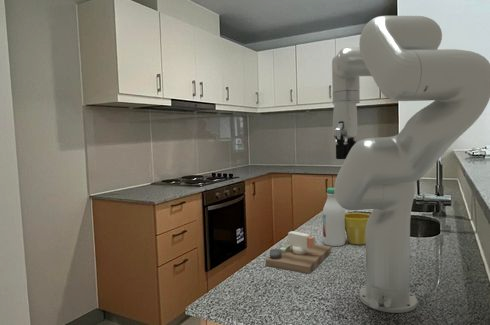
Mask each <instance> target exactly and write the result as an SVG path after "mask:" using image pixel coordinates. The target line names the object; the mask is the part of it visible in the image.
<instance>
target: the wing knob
mask: <svg viewBox="0 0 490 325" xmlns="http://www.w3.org/2000/svg"><path fill="white" fill-rule="evenodd" d="M315 241H316V240H315V237H314V236H312V235H311V234H309V233H306V232H305V233H304V232H299V231H294V230H291V231H289V232H287V244H288V245H291V246H293V253H294V254H299V255H301V254H306V253H307V249H308V248H313V247H315V245H316V244H315Z"/></svg>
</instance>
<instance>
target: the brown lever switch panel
mask: <svg viewBox="0 0 490 325" xmlns="http://www.w3.org/2000/svg"><path fill="white" fill-rule="evenodd" d="M331 253H332V246H329V245H320V244H315V247H313V248H308V249H307V253H306V254H301V255H299V254H294V253H293V246H291V245H288V243H287V244H284V245H283V246H281V247H280V248H273V249H271V250H269V256H268V257H267V258H265V266H266V267H270V268H274V269H275V268H276V269H282V270H286V271H291V272H298V273H304V274H311V272H313V271H314V270H315V269H316V268H317V267H318V266H319V265H320V264H321V263H322V262H324V260H325V259H327V257H328V256H329V255H331Z"/></svg>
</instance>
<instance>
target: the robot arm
mask: <svg viewBox="0 0 490 325" xmlns="http://www.w3.org/2000/svg"><path fill="white" fill-rule="evenodd" d="M442 39H443V32H442V28H441V27H440V25H439V24H438V23H437V22H436V20H434V19H433V18H431V17H428V16H423V15H422V16H421V15H379V16H376V17H374V18H372V19H370V20H369V21H368V22H367V23H366V25H364V27H363V29H362V30H361V34H360V37H359V45H358V47H357V46H352V47H351V46H349V47H343V48H341V49H340V50H339V51H338V54H336V55H335V56H334V57H333V58H332V61H331V72H332V73H331V75H332V76H331V80H332V81H331V82H332V84H331V85H332V86H331V88H332V105H333V112H332V137H333V139H335V159H336V160H344V162H343V164H342V165H341V167H340V169H339V171H338V173H337V176H336V178H335V182H334V187H333V188H334V194H335V198H336V201H337V202H338V204H339V205H340V206H341V207H343V208H344V210H347V211H362V210H372V211H371V213H370V216H369V218H368V220H367V224H366V244H365V286H363V287H362V288H361V289H360V290H359V292H358V294H359V295H358V298H359V300H360V301H361V302H362V303H363V304H364V305H365V306H367V307H369V308H371V309H373V310H377V311H380V312H384V313H391V314H403V313H408V312H411V311H414V310H415V309H416V308H417V306H418V298H417V296H416V295H415V294H414V293H412V292H411V290H410V288H411V286H410V284H411V281H410V280H411V279H410V278H411V277H410V275H411V272H410V270H411V268H410V265H411V262H410V261H411V259H410V258H411V257H410V255H411V246H410V245H411V244H410V243H411V239H410V238H411V217H412V208H413V203H414V198H415V193H416V182H417V181H419V180H421V179H422V178H424V177H425V175H427V173H428V172H429V171H430V170H431V169H432V168H433V166H434V165H435V164H436V163H437V162H438V161H439V160H440V159H441V157H442V156H444V154H445V153H446V151H448V149H449V148H450V147H451V146H452V145H453V144H454V143H455V142H456V141H458V139H459V138H460V137H461V136H462V135H464V133H466V132H467V131H468V130H469V129H470V128H471V127H472V126H473V125H474V124H475V123H476V122H477V121H478V120H479V118H480V117H481V115H482V114H483V113H484V111H485V109H486V108H487V106H488V105H489V104H488V103H489V101H490V62H489V60H488V59H487V58H486V57H485V56H484V55H483V54H480V53H478V52H474V51H470V50H464V49H456V48H455V49H452V48H451V49H449V48H447V49H444V48H443V49H438V48H439V47H440V45H441V43H442ZM360 77H372V79H373V80H374V82H375V84H376V86H377V87H378V89H379V91H380V93H382V95H383V96H384V97H386V99H389V100H391V101H396V102H419V101H420V102H421V101H422V102H423V101H427V102H428V101H433V102H431V103H429V104H428V105H426V106H424V107H423V108H421V109H420V110H419V111H417V112H415V114H413V115H412V116H411V117H410V118H409V119H408V120H407V121H406V123H405V125H404V126H403V128H402V129H401V130H400V132H399V133H397V134H396V135H392V136H387V137H386V136H385V137H382V136H381V137H367V138H363V139H361V140H358V141H357V135H358V109H357V108H358V107H357V104H360V103H361V102H360V101H361V100H360V99H361V98H360V97H361V95H360V94H361V93H360V92H361V91H360Z"/></svg>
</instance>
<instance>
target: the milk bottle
mask: <svg viewBox="0 0 490 325" xmlns="http://www.w3.org/2000/svg"><path fill="white" fill-rule="evenodd" d="M326 195H327V198H326V200H325V203H324V206H323V209H322V242H323V244H324V245H325V246H329V247H340V246H344V245H345V243H346V230H345V214H346V213H345V209H344V208H343V207H341V206H340V205H339V204H338V202H337V201H336V198H335V194H334V187H328V188H326Z"/></svg>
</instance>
